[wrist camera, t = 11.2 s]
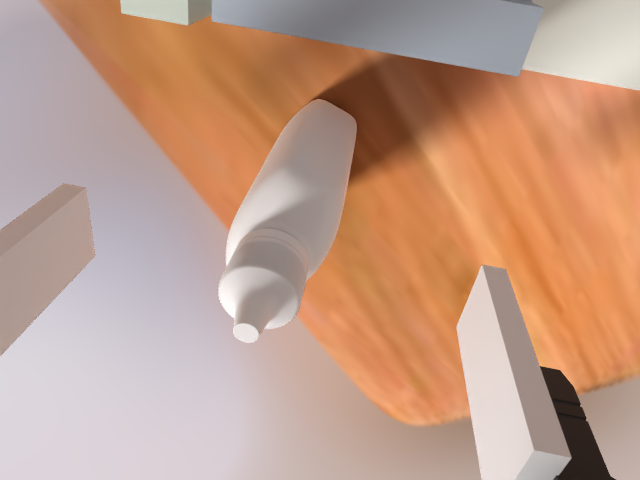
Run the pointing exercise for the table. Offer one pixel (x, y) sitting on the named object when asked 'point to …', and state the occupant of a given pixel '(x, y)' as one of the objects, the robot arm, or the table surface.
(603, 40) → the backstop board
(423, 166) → the table surface
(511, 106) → the table surface
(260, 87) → the table surface
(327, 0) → the cradle block
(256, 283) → the eye dropper bottle
